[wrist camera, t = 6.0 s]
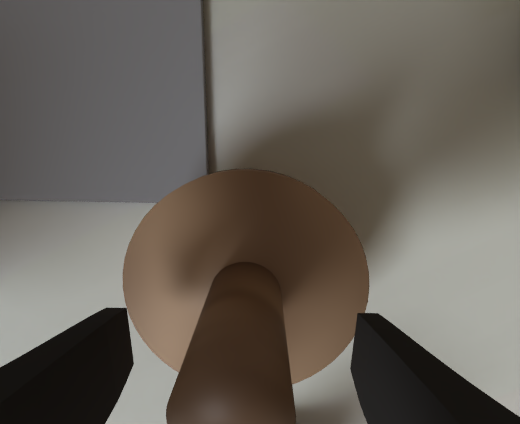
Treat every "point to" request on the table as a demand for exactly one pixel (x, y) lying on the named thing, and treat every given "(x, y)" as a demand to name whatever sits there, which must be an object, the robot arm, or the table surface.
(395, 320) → the table surface
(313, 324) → the lid
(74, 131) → the mat
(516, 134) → the table surface
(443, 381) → the robot arm
